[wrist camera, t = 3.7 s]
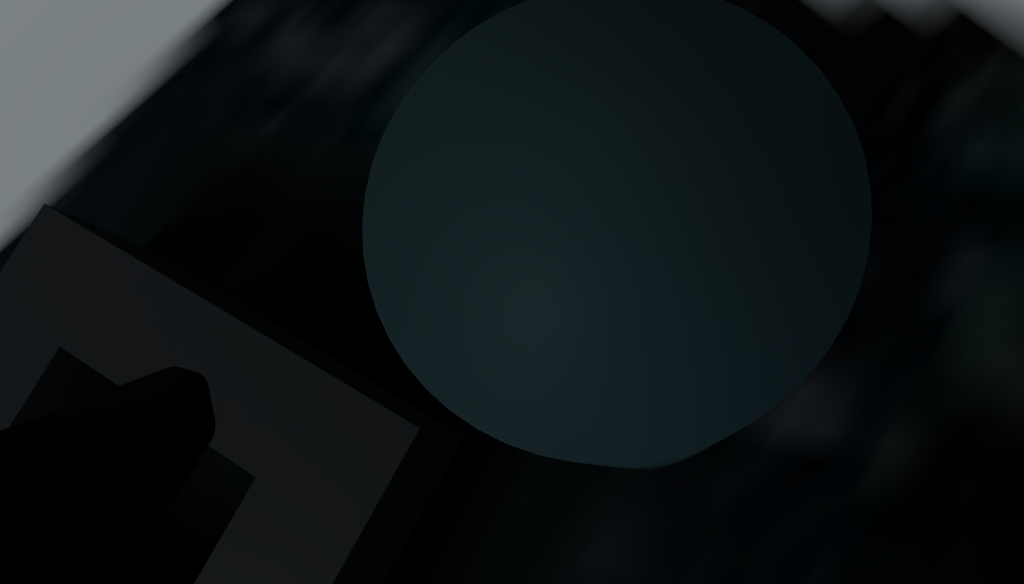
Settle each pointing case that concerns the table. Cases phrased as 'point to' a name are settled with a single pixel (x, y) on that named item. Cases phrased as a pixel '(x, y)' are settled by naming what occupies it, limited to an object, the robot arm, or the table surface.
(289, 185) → the table surface
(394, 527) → the socket block
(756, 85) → the long peg
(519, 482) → the table surface
